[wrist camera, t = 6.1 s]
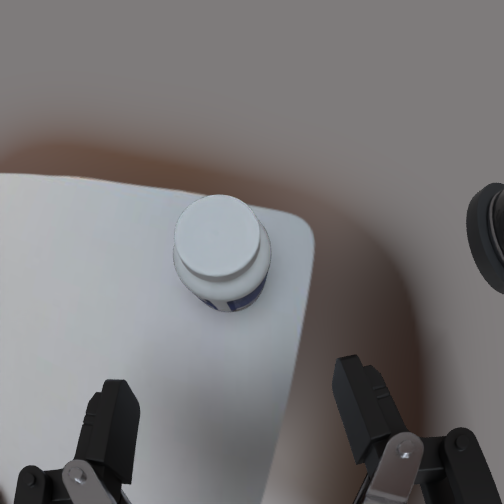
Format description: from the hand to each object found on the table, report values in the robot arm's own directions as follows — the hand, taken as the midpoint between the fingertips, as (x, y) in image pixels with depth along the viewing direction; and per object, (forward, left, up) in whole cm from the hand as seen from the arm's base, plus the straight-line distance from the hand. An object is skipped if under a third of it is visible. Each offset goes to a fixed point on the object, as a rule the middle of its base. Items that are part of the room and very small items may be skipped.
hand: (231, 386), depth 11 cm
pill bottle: (0, -7, -11) cm, 13 cm away
